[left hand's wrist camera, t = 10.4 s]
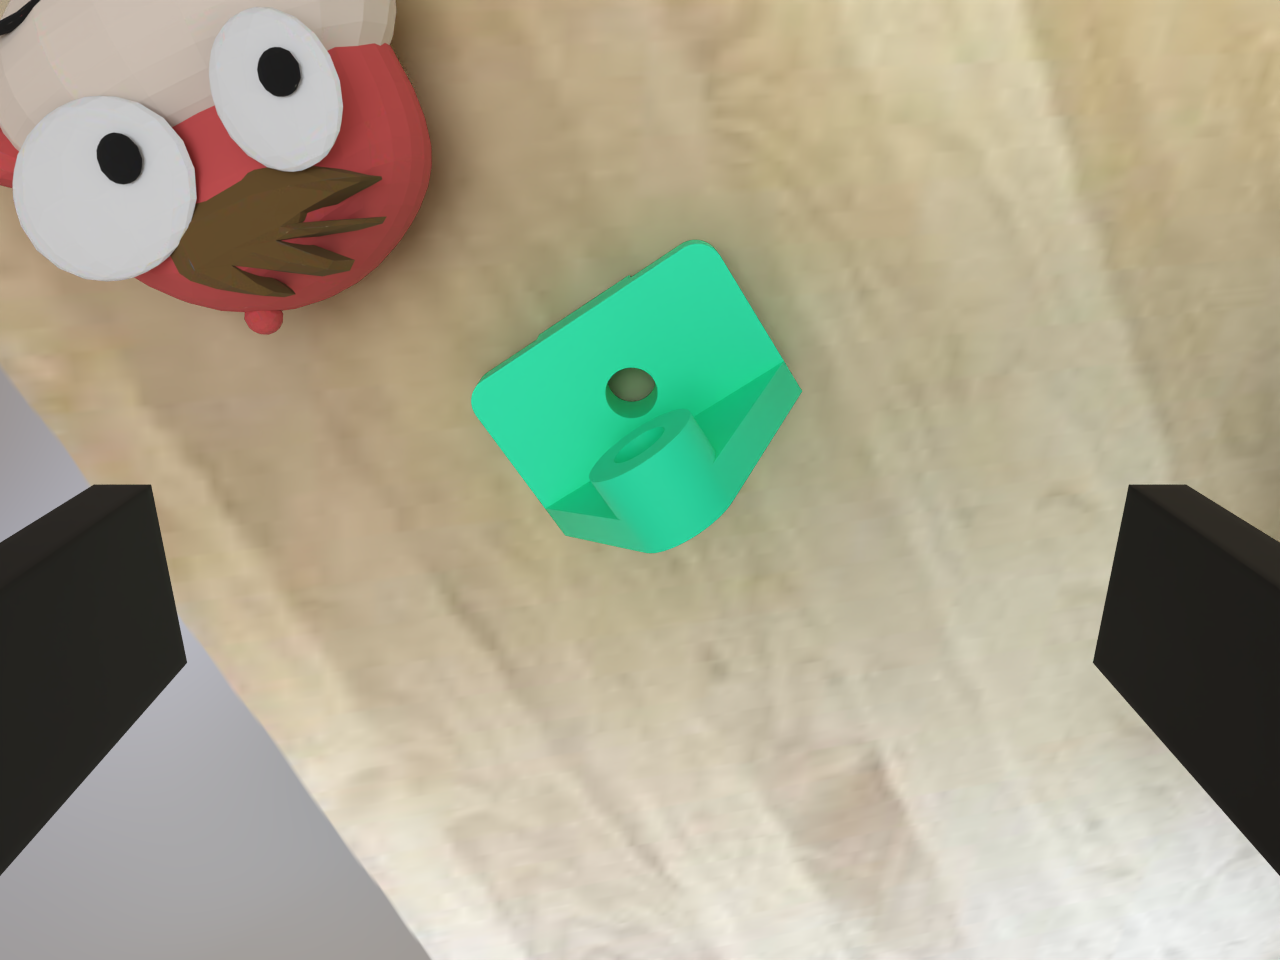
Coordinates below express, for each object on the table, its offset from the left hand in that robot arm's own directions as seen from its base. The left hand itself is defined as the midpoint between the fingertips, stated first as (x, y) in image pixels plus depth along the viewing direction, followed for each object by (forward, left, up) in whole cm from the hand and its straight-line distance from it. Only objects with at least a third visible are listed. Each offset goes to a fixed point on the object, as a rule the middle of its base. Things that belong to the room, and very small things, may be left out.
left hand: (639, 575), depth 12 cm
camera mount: (+2, +4, -28) cm, 28 cm away
